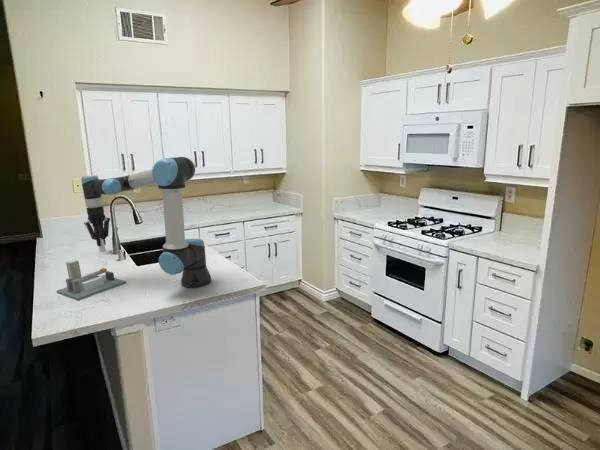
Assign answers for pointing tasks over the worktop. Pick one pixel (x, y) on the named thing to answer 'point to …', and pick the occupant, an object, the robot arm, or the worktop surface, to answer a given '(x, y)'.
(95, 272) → the lever handle
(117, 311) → the worktop surface
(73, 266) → the box
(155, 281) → the worktop surface
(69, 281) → the clamp base
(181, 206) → the robot arm
